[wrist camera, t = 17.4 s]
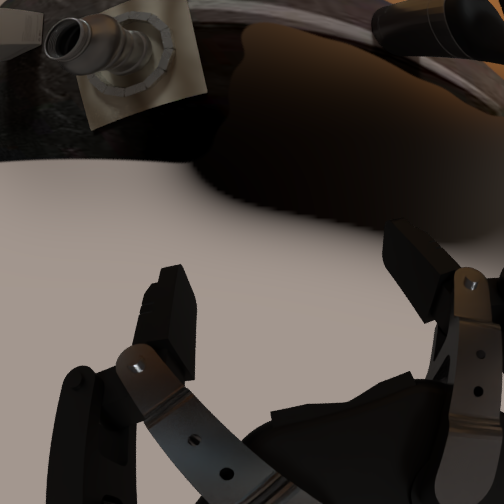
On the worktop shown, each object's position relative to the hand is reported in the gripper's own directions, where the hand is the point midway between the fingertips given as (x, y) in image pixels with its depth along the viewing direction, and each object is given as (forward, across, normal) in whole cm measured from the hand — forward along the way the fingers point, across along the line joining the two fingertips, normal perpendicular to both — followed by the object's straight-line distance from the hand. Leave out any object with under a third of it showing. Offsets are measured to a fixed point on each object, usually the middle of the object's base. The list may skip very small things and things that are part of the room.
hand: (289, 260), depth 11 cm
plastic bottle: (+32, +12, -15) cm, 37 cm away
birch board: (+33, +12, -15) cm, 38 cm away
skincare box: (+33, +30, -28) cm, 53 cm away
